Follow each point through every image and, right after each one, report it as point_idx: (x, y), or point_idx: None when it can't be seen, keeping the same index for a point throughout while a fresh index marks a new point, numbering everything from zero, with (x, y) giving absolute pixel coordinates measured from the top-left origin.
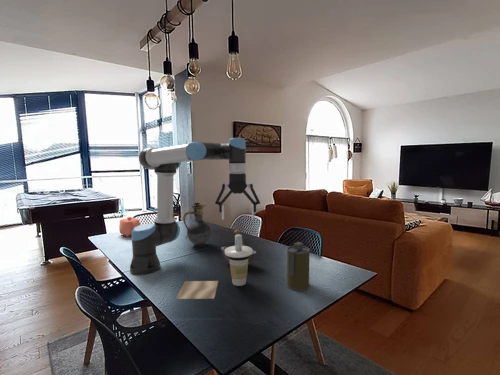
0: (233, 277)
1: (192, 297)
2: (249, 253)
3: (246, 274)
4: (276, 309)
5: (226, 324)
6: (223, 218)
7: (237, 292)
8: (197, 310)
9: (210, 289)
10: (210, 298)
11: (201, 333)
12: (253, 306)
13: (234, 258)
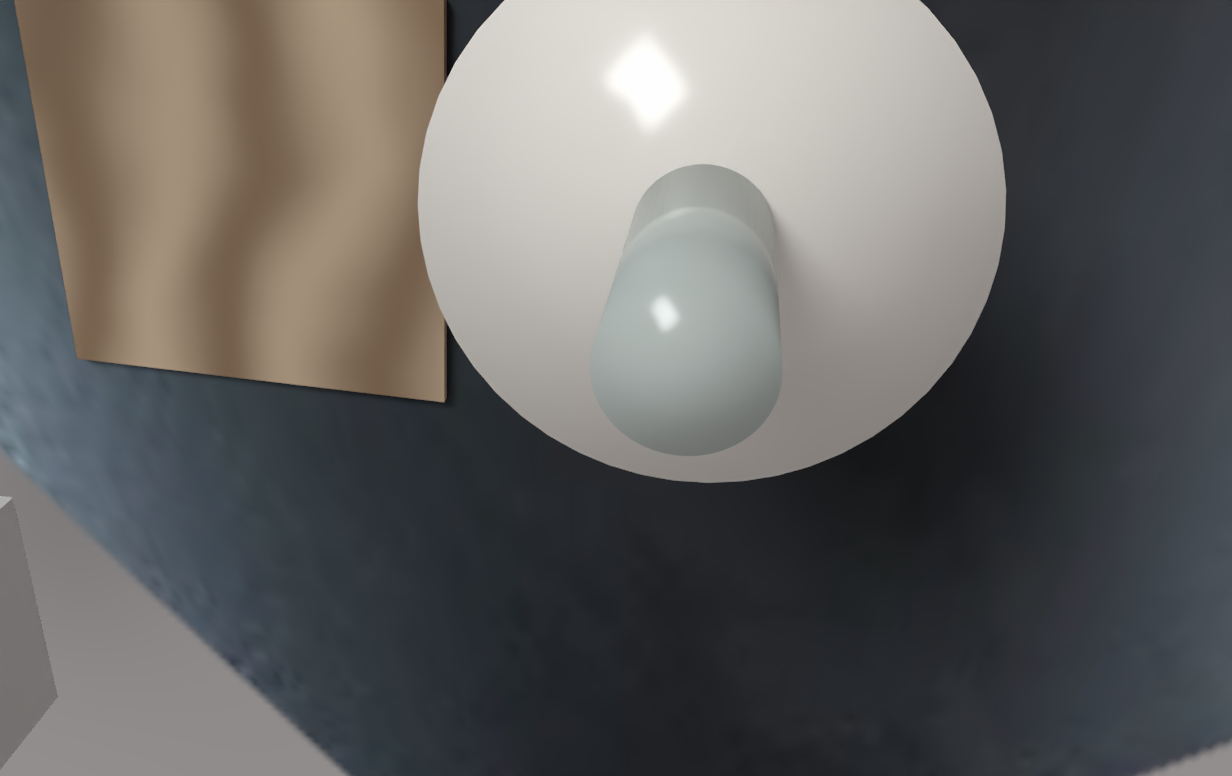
0: None
1: (228, 356)
2: (892, 420)
3: None
4: (1009, 622)
5: (577, 716)
6: (20, 743)
7: None
8: (330, 535)
9: (377, 219)
10: (408, 397)
11: (418, 762)
12: (814, 554)
13: None
